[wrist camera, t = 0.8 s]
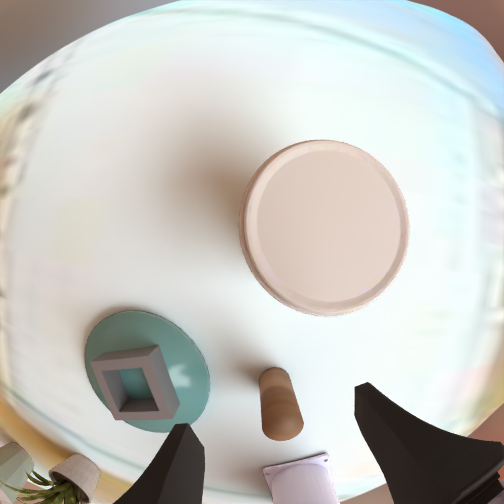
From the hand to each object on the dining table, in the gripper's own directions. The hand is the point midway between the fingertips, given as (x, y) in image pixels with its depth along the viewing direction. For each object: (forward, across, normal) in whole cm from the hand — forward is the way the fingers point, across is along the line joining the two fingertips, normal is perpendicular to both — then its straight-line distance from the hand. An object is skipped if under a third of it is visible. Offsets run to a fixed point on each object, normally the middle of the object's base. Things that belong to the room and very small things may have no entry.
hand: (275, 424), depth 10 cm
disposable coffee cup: (+9, +51, +24) cm, 57 cm away
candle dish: (+14, +13, +6) cm, 20 cm away
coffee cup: (+16, -5, -4) cm, 18 cm away
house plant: (+10, +32, +21) cm, 39 cm away
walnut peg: (+13, 0, +9) cm, 16 cm away
